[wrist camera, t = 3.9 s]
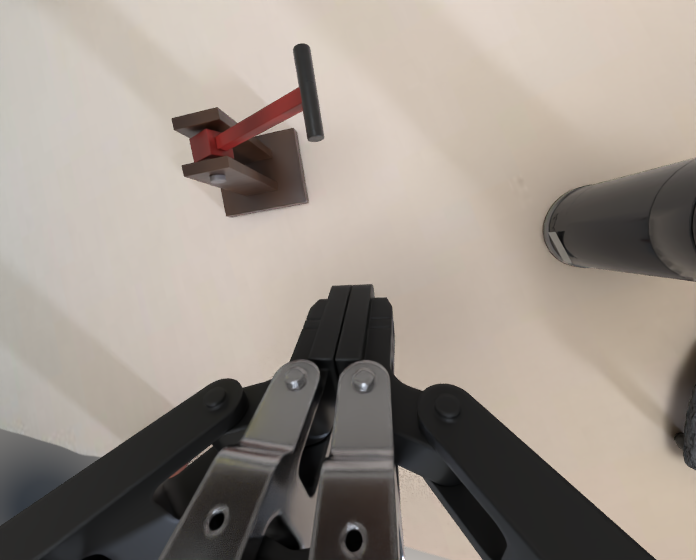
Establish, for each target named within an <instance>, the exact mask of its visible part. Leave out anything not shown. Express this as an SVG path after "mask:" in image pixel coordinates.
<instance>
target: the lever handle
mask: <svg viewBox="0 0 696 560" xmlns="http://www.w3.org/2000/svg"><path fill="white" fill-rule="evenodd" d="M293 54H294V60H295V66H296V72H297V78H298V84H299V87H298V88H297V89H295V90H293V91H291V92H290V93H288V94H286V95H285V96H283V97H281V98H280V99H278V100H276V101H275V102H273V103H271V104H270V105H268V106H266V107H265V108H263V109H261V110H259V111H258V112H256V113H254V114H253V115H251V116H249V117H248V118H246V119H244V120H243V121H241V122H239V123H238V124H236V125H234V126H233V127H231V128H229V129H227V130H226V131H224V132H222V133H221V132H218V131H214V130H210V129H204V130H203V131H201V132H200V133H198V134H197V135H195V136H193V137H192V138H190V139H189V140H190V145H191V150H192V154H193V159H194V163H195V162H200V161H204V160H209V159H213V158H218V157H223V156H228V157H230V158H232V159H234V154H233V149H232V148H233V147H235V146H237V145H239V144H241V143H243V142H245V141H246V140H248V139H250V138H252V137H254V136H256V135H258V134H260V133H262V132H264V131H265V130H267V129H269V128H271V127H273V126H275V125H277V124H279V123H281V122H283V121H285V120H286V119H288V118H290V117H292V116H294V115H296V114H298V113H300V112H302V111H303V114H304V120H305V127H306V133H307V139H308V141H310V142H318V141H321V140H323V139H324V132H323V126H322V120H321V113H320V107H319V101H318V94H317V88H316V82H315V75H314V69H313V63H312V56H311V50H310V47H309V46H308V45H307V44H298V45H296V46H295V47H294V48H293Z"/></svg>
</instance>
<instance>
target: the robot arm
mask: <svg viewBox="0 0 696 560" xmlns="http://www.w3.org/2000/svg"><path fill="white" fill-rule="evenodd" d="M544 239H545V242H546V245H547V247H548V249H549V250H550V252H551V253H552V254H553V255H554V256H555V257H556V258H557V259H558V260H560V261H561V262H563V263H565V264H568V265H571V266H576V267H583V268H597V269H603V270H611V271H618V272H626V273H634V274H641V275H649V276H657V277H664V278H672V279H679V280H687V281H695V282H696V158H692V159H689V160H685V161H681V162H677V163H673V164H670V165H666V166H662V167H658V168H655V169H651V170H647V171H643V172H639V173H636V174H632V175H628V176H624V177H621V178H617V179H613V180H609V181H605V182H601V183H597V184H593V185H587V186H583V187H579V188H576V189H573V190H571V191H569V192H567V193H566V194H564V195H563V196H561V197H560V198H559V199H558V200H557V201H556V202H555V203H554V204H553V205H552V207H551V208H550V210H549V212H548V214H547V216H546V218H545V222H544ZM394 349H395V333H394V322H393V310H392V305H391V304H390V302H389V301H388V299H387V297H386V298H375V296H374V288H373V285H372V284H367V285H353V286H352V285H340V286H332V287H331V290H330V293H329V296H328V299H319V300H318V301H317V302H316V303H315V304H314V305H313V306H312V307H311V308H310V311H309V313H308V316H307V321H305V324H304V326H303V329H302V331H301V334H300V336H299V339H298V342H297V344H296V347H295V349H294V352H293V354H292V357H291V359H290V362H288V363H287V364H285V365H283V366H282V367H281V368H280V369H279V370H278V371H277V372H276V373H275V375H274V376H273V378H272V379H271V380H268V381H266V382H263V383H259V384H255V385H251V386H247V387H244V388H242V386H241V385H240V383H239V382H238V381H236V380H234V379H229V378H227V379H221V380H218V381H215V382H213V383H211V384H209V385H208V386H206V387H205V388H203V389H202V390H200V391H199V392H197V393H196V394H194V395H193V396H191V397H190V398H188V399H187V400H186V401H184V402H183V403H181V404H180V405H178V406H177V407H175V408H174V409H172V410H171V411H169V412H168V413H166V414H165V415H163V416H162V417H160V418H159V419H157V420H156V421H155V422H153V423H152V424H150V425H149V426H147V427H146V428H144V429H143V430H141V431H140V432H138V433H137V434H135V435H134V436H132V437H131V438H129V439H128V440H126V441H125V442H124V443H122V444H121V445H119V446H118V447H116V448H115V449H113V450H112V451H110V452H109V453H107V454H106V455H104V456H103V457H101V458H100V459H98V460H97V461H95V462H94V463H92V464H91V465H90V466H88V467H87V468H85V469H84V470H82V471H81V472H79V473H78V474H77V475H75V476H73V477H72V478H70V479H69V480H67V481H66V482H64V483H63V484H61V485H60V486H59V487H57V488H56V489H54V490H53V491H51V492H50V493H48V494H47V495H45V496H44V497H43V498H41V499H39V500H38V501H36V502H35V503H33V504H32V505H31V506H29V507H28V508H26V509H25V510H23V511H22V512H20V513H19V514H17V515H16V516H14V517H13V518H11V519H10V520H8V521H7V522H5V523H4V524H2V525H1V526H0V560H405V555H404V540H403V526H402V515H401V501H400V486H399V470H398V465H399V466H401V467H403V468H405V469H407V470H409V471H411V472H414V473H416V474H418V475H420V476H422V477H423V478H424V480H425V481H426V483H427V484H428V486H429V487H430V488H431V490H432V491H433V492H434V494H435V495H436V496H437V498H438V499H439V501H440V502H441V503H442V505H443V506H444V507H445V509H446V510H447V511H448V513H449V514H450V516H451V517H452V518H453V520H454V521H455V522H456V524H457V525H458V526H459V528H460V529H461V531H462V532H463V533H464V535H465V536H466V537H467V539H468V540H469V542H470V543H471V544H472V546H473V547H474V548H475V550H476V551H477V552H478V554H479V555H480V557H481V558H482V559H483V560H656V559H655V558H654V557H653V556H651V555H650V554H649V553H648V552H647V551H646V550H645V549H644V548H642V547H641V546H640V545H639V544H638V543H637V542H636V541H635V540H633V539H632V538H631V537H630V536H629V535H628V534H627V533H625V532H624V531H623V530H622V529H621V528H620V527H619V526H618V525H616V524H615V523H614V522H613V521H612V520H611V519H610V518H609V517H607V516H606V515H605V514H604V513H603V512H602V511H601V510H600V509H598V508H597V507H596V506H595V505H594V504H593V503H592V502H590V501H589V500H588V499H587V498H586V497H585V496H584V495H583V494H581V493H580V492H579V491H578V490H577V489H576V488H575V487H574V486H572V485H571V484H570V483H569V482H568V481H567V480H566V479H565V478H563V477H562V476H561V475H560V474H559V473H558V472H557V471H555V470H554V469H553V468H552V467H551V466H550V465H549V464H548V463H546V462H545V461H544V460H543V459H542V458H541V457H540V456H539V455H537V454H536V453H535V452H534V451H533V450H532V449H531V448H530V447H528V446H527V445H526V444H525V443H524V442H523V441H522V440H521V439H519V438H518V437H517V436H516V435H515V434H514V433H513V432H511V431H510V430H509V429H508V428H507V427H506V426H505V425H504V424H502V423H501V422H500V421H499V420H498V419H497V418H496V417H495V416H493V415H492V414H491V413H490V412H489V411H488V410H487V409H486V408H484V407H483V406H482V405H481V404H480V403H479V402H478V401H476V400H475V399H474V398H473V397H472V396H471V395H470V394H469V393H467V392H466V391H465V390H463V389H461V388H459V387H457V386H454V385H451V384H435V385H432V386H430V387H428V388H426V389H425V390H424V391H421V390H418V389H415V388H412V387H410V386H407V385H405V384H403V383H402V382H401V381H399V380H398V379H397V378H396V377H395V375H394V353H395V350H394ZM211 444H212V445H213V447H211V448H210V449H209V450H208V451H206V452H205V453H204V454H203V455H201V456H200V457H199V458H198V459H196V460H195V461H194V462H193V463H191V464H190V465H189V466H188V467H186V468H185V469H184V470H182V471H181V472H180V473H179V474H177V475H176V476H174V477H171V478H169V477H170V476H172V475H173V474H174V473H176V472H177V471H178V470H179V469H181V468H182V467H183V466H184V465H186V464H187V463H188V462H189V461H191V460H192V459H193V458H195V457H196V456H197V455H198V454H200V453H201V452H202V451H203V450H205V449H206V448H207V447H208V446H210V445H211Z"/></svg>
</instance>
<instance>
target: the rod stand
mask: <svg viewBox="0 0 696 560" xmlns="http://www.w3.org/2000/svg"><path fill="white" fill-rule="evenodd" d="M172 123H173V128H174V130H175V131H177V132H179V133H181V134H183V135H185V136H187V137H189V138H192V137H193V136H195V135H197V134H198V133H200V132H201V131H203V130H204V129H210V130H214V131H218V132H221V133H222V132H224V131H226V130H227V129H229V128H231V127H233V126H234V125H236V124H238V123H237V122H235V121H234V120H233V119H232V118H230V117H229V116H228V115H227V114H225V113H224V112H223V111H221V110H220V109H219V108H218V107H216V108H212V109H208V110H204V111H200V112H196V113H192V114H187V115H183V116H179V117H175V118H172ZM232 149H233V154H234V159H232V158H230V157H228V156H223V157H218V158H213V159H209V160H204V161H200V162H195V163H190V164H186V165H182V170H183V174H184V177H187V178H190V179H194V180H197V181H200V182H203V183H206V184H209V185H212V186H216V187H219V188H221V192H222V197H223V202H224V207H225V212H226V216H228V217H234V216H240V215H245V214H250V213H256V212H261V211H267V210H272V209H278V208H283V207H289V206H294V205H300V204H305V203H308V197H307V191H306V185H305V179H304V173H303V167H302V161H301V155H300V149H299V143H298V137H297V132H296V130H295V129H294V128H291V129H287V130H282V131H278V132H273V133H269V134H264V135H260V136H255V137H252V138H250V139H248V140H246V141H245V142H243V143H241V144H239V145H237V146H235V147H233V148H232Z"/></svg>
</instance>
